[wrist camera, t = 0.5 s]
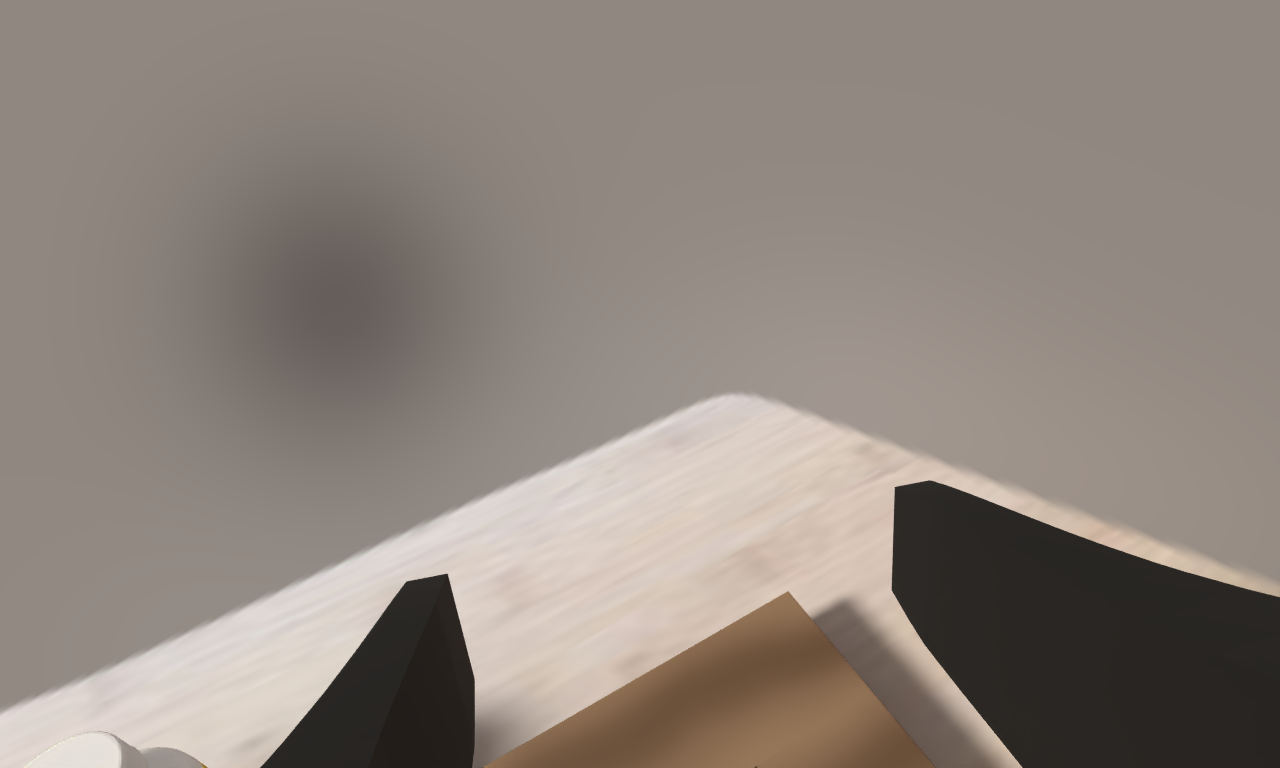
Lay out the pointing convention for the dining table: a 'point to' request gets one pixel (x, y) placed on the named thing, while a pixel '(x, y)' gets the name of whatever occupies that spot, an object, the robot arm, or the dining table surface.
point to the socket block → (735, 709)
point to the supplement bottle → (109, 754)
